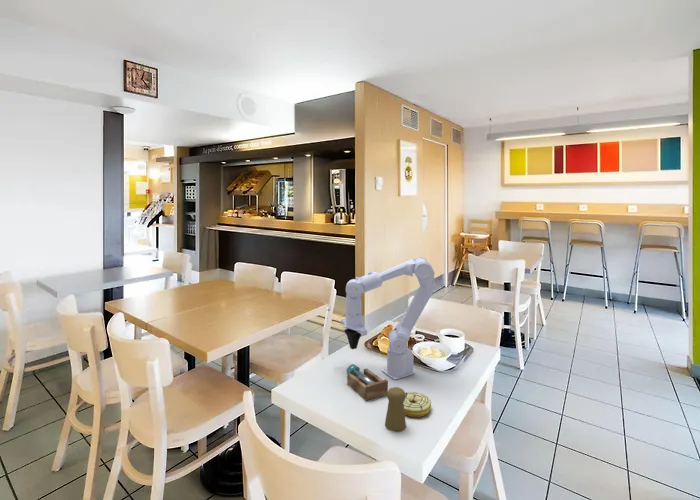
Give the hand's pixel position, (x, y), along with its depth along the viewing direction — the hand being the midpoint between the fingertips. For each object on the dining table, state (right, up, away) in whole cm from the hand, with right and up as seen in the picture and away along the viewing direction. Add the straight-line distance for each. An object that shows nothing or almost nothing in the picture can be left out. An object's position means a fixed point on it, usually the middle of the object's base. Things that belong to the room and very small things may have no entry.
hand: (353, 348), depth 139 cm
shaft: (+3, -10, -9) cm, 14 cm away
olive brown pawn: (+12, -14, -31) cm, 36 cm away
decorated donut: (+18, -13, -22) cm, 32 cm away
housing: (+4, -11, -11) cm, 16 cm away
